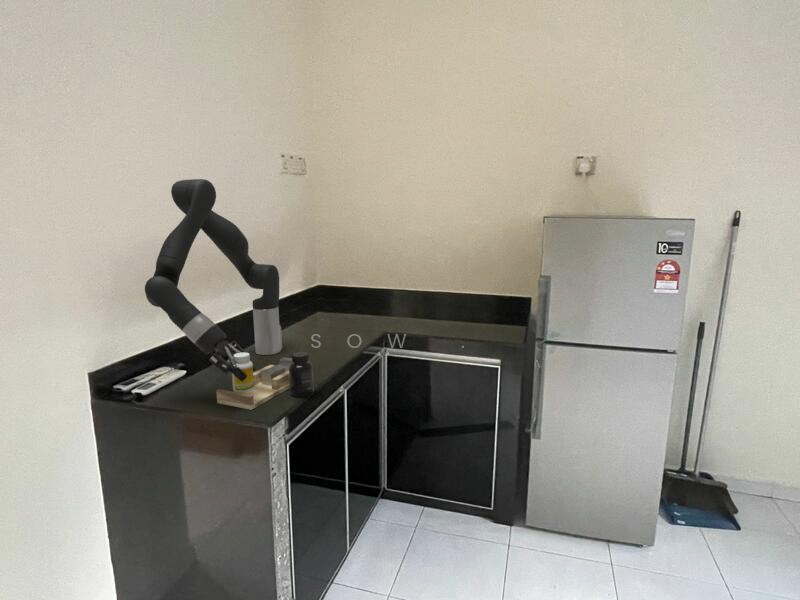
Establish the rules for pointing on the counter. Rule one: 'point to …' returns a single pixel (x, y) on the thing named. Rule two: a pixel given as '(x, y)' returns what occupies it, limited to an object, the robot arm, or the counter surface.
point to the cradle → (255, 391)
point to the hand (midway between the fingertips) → (249, 374)
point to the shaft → (276, 371)
